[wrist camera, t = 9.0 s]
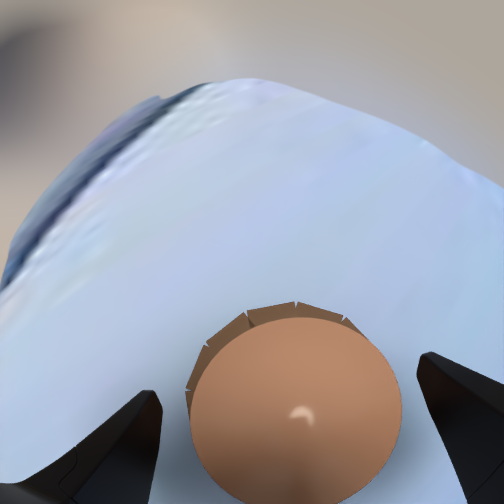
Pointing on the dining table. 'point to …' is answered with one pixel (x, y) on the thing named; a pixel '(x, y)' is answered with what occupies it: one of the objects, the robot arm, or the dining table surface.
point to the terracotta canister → (296, 413)
